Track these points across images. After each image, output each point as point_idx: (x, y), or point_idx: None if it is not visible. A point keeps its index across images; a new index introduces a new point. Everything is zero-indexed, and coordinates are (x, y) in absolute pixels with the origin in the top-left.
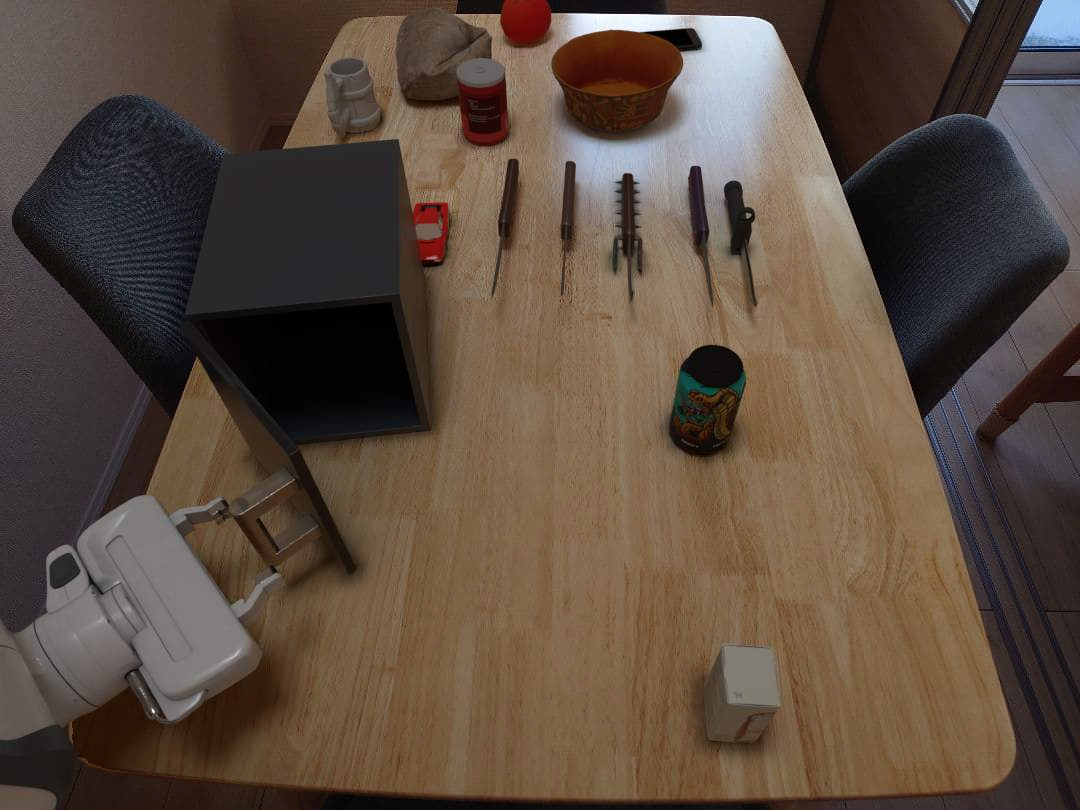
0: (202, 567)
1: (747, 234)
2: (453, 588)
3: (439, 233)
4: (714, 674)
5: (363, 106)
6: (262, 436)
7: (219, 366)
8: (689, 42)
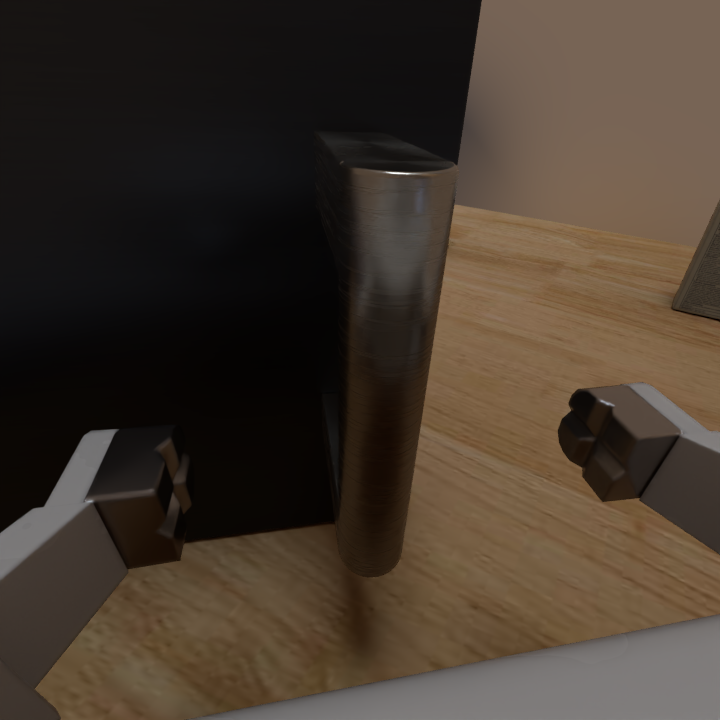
0: (576, 642)
1: None
2: (501, 405)
3: None
4: (716, 251)
5: None
6: (157, 71)
7: None
8: None
